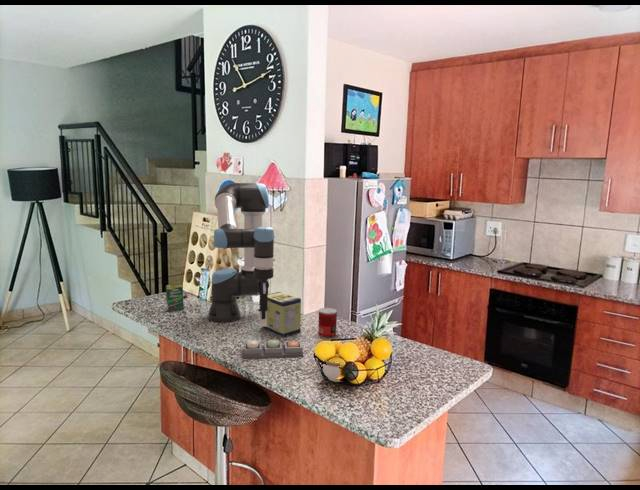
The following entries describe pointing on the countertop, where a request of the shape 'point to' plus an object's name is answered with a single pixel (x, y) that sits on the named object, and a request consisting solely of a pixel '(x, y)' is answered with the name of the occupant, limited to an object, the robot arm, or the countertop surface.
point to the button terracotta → (293, 344)
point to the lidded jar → (332, 370)
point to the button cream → (252, 344)
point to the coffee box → (174, 297)
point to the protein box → (283, 314)
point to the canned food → (327, 322)
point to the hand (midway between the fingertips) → (263, 325)
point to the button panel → (273, 351)
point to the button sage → (273, 344)
